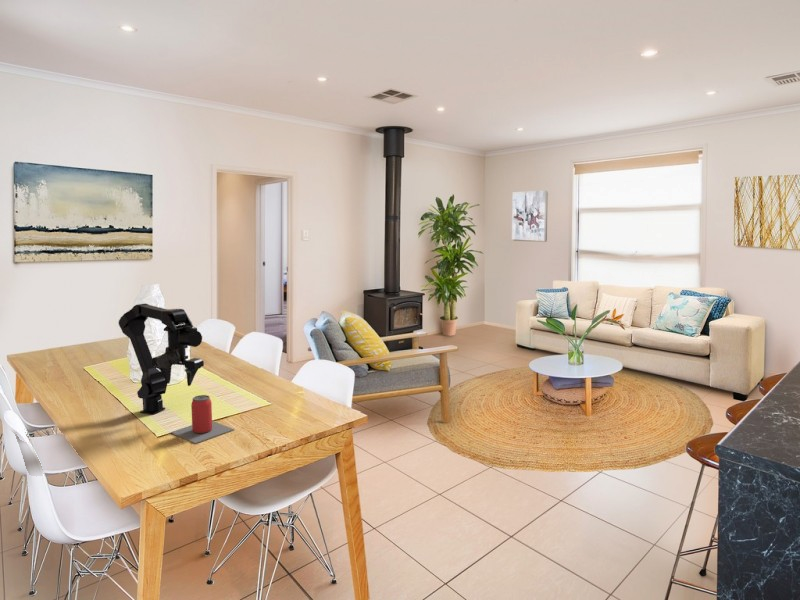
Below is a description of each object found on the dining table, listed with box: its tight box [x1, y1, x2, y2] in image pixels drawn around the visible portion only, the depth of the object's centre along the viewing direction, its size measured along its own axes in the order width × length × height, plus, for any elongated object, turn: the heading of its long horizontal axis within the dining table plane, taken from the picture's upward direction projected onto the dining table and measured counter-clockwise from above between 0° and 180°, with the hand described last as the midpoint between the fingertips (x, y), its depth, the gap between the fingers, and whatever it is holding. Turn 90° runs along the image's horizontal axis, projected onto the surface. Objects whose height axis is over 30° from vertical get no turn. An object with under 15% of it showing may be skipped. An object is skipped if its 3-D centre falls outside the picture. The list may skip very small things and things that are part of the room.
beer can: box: [190, 394, 213, 433], centre depth 180 cm, size 7×7×12 cm
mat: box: [170, 420, 235, 445], centre depth 181 cm, size 15×15×1 cm
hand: (178, 384), depth 191 cm, fingers open, 9 cm apart
